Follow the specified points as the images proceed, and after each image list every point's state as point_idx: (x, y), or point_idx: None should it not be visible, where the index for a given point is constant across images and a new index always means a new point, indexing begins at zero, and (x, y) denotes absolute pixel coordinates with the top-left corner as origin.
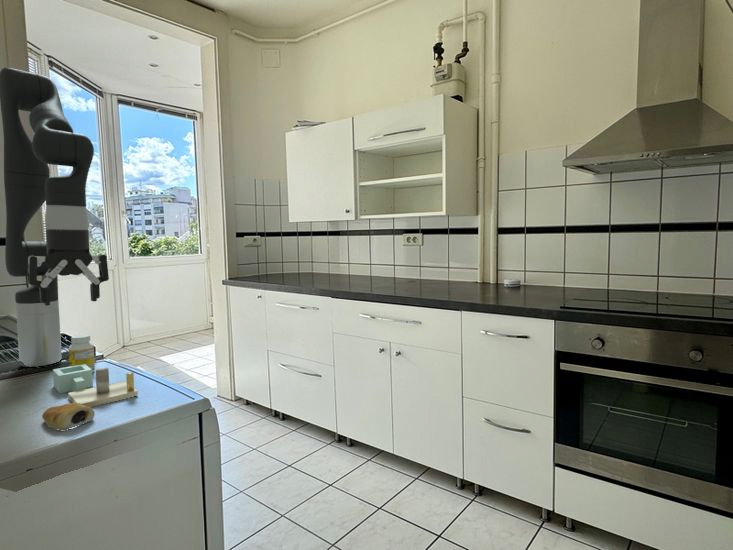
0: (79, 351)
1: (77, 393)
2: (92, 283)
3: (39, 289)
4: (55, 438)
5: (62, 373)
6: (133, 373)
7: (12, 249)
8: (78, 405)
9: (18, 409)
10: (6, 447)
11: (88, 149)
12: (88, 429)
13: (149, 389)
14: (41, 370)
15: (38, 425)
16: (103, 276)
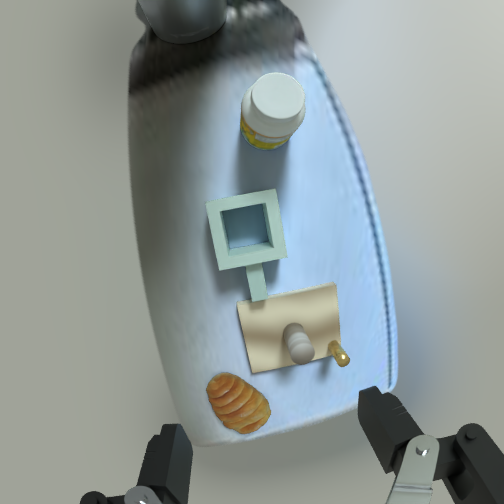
0: (267, 136)
1: (252, 318)
2: (395, 466)
3: (138, 481)
4: (227, 431)
5: (226, 253)
6: (348, 362)
7: None
8: (253, 420)
9: (164, 314)
10: None
11: None
12: None
13: (361, 322)
14: (186, 62)
15: (203, 392)
16: (447, 481)
